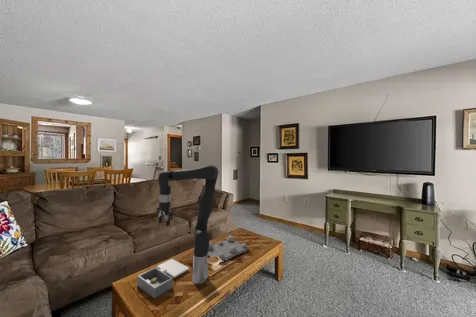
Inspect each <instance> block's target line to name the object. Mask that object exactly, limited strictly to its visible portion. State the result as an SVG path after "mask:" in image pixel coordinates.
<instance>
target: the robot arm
mask: <svg viewBox="0 0 476 317" xmlns="http://www.w3.org/2000/svg"><path fill="white" fill-rule="evenodd" d="M218 169H219V168H218V167H217V166H215V165H213V164H212V165H205V166H203V167H199V168H194V169H191V168H190V169H178V170H167V171H166V170H165V171H161V172H160V173H159V174H158V178H157V182H158V185H159V198H158V207H156V216H157V217H158V223H159V224H161V223H162V222H163V217H164V218H165V220H166V222H165V225H166V226H167V227H168V226H170V225H171V220H173V210H170V208H171V204H172V203H171V202H172V195H171V193H172V192H171V190H172V188H171V185H169V182H173V181H176V182H177V181H186V180H187V181H188V180H195V179H198V180H199V179H201V180H205V181H204V187H203V190H202V191H201V195H200V197H199V200H198V207H197V218H196V219H197V220H196V223H195V229H194V232H193V238H194V248H193V253H192V254H193V257H192V277H191V278H192V279H191V280H192V283H194V284H196V285H201V284H204V283H205V282H206V281H207V279H209V276H208V275H209V263H208V258H209V256H208V250H209V243H210V234H209V232H208V224H209V219H210V217H211V214H212V213H213V209H214V208H213V207H214V206H213V205H214V200H215V199H214V198H215V193H216V192H215V191H216V185H217V179H218V177H219V170H218Z"/></svg>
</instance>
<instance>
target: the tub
mask: <svg viewBox="0 0 476 317" xmlns="http://www.w3.org/2000/svg"><path fill="white" fill-rule="evenodd" d="M136 280H137V281H136V282H137V283H136V285H137V287H139V288H140V289H141V290H142V291H143V292H145V293H146V294H147V295H149V296H150V297H152V298H153V299H154V300H155V299H157V298H158V297H159V296H161V295H163V294H164V293H167V292H168V291H169V290H171V289H172V288H173V280H174V278H173V277H171V276H170V275H168V274H165V273H164V272H162V271H160V269H158V268H157V266H155V267H153V268H152V269H149V270H147V271H145V272H143V273H140V274H139V275H137V279H136Z"/></svg>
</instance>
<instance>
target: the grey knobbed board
mask: <svg viewBox="0 0 476 317" xmlns="http://www.w3.org/2000/svg"><path fill="white" fill-rule="evenodd" d="M247 250H248V251H250V248H249V247H248V245H247V243H246V242H242V243H240V242H238V241H237V240H235V236H232V235H228V236H227V239H226V240H223V241H222V240H219V241H218V242H217V243H213V241H212V240H209V250H208V257H209V256H213V255H216V256H218V257H220V258H221V260H222V261H224V260H226V259H228V260H230V259H233V258H234V256H235V257H237V256H239V255H241V254H243V253H245V252H248V251H247ZM236 255H237V256H236ZM232 257H233V258H232ZM226 261H227V260H226ZM224 262H225V261H224Z"/></svg>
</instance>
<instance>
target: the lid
mask: <svg viewBox="0 0 476 317" xmlns="http://www.w3.org/2000/svg"><path fill="white" fill-rule="evenodd" d="M156 268H157V269H159V270H160V271H162V272H164V273H165V274H167V275H168V276H170V277H172V278H173V279H175V278H177V277H179V276H180V275H182V274H183V273H185V272H187V271H188V270H189V269H190V267H188V266H187V265H184V264H183V263H181V262H179V261H177V260H175V259H173V258H171V259H168V260H166V261H164V262H161V264H160V263H159V264H158V265H157V266H156Z"/></svg>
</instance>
